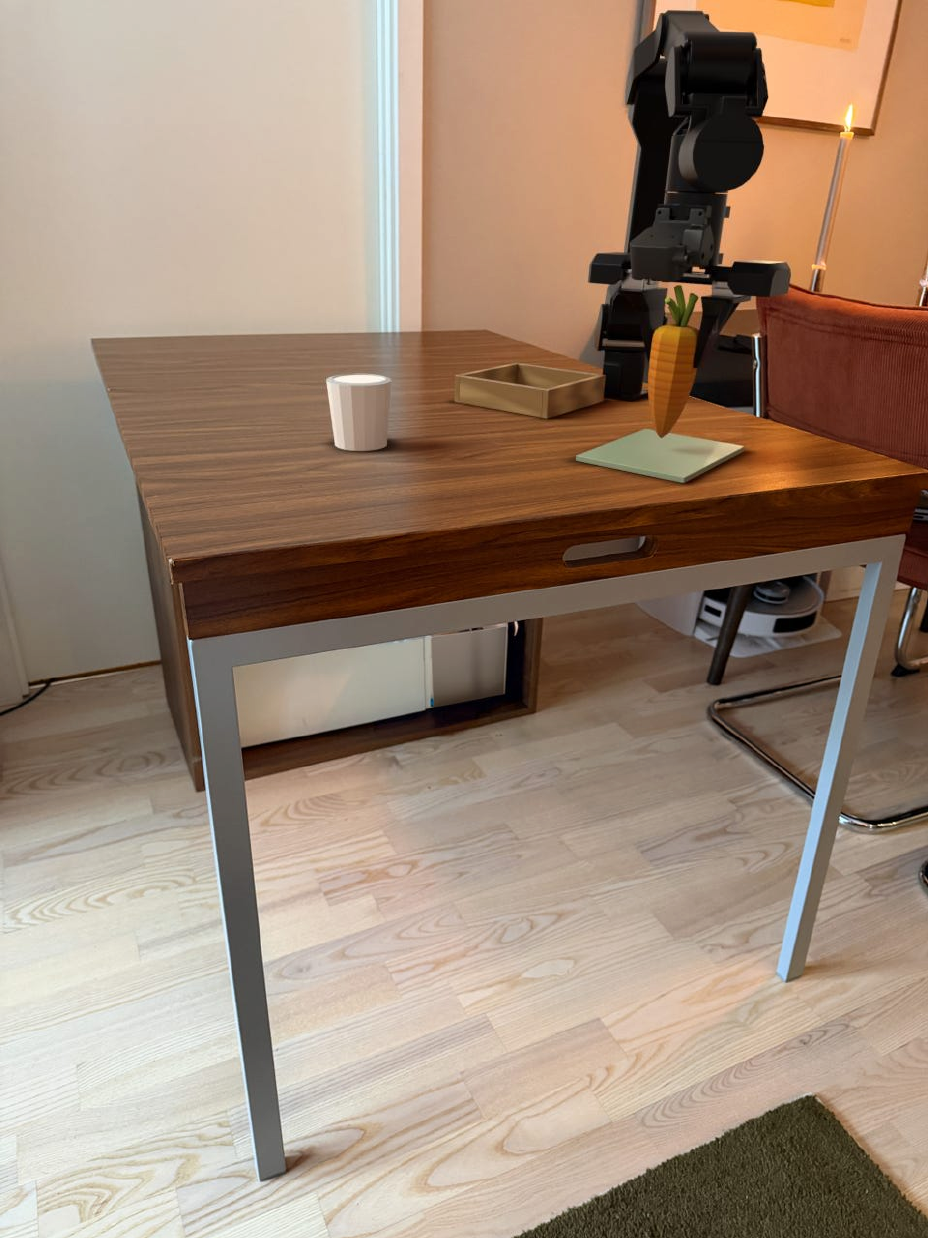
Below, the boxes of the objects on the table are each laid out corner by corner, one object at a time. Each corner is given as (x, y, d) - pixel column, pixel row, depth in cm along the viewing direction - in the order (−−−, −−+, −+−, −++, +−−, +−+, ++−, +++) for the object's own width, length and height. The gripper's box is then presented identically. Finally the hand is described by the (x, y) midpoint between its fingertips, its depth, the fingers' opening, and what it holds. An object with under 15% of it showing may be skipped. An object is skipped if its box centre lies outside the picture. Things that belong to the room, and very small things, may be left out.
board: (644, 433, 98) (645, 428, 98) (743, 451, 92) (744, 446, 91) (575, 460, 87) (576, 455, 86) (683, 483, 80) (684, 477, 80)
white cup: (354, 433, 95) (352, 370, 92) (405, 442, 92) (404, 377, 89) (315, 446, 89) (312, 379, 86) (367, 455, 86) (366, 386, 83)
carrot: (686, 446, 86) (714, 291, 79) (637, 441, 87) (661, 286, 80) (684, 434, 90) (710, 285, 83) (637, 429, 91) (660, 282, 84)
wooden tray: (515, 387, 122) (516, 362, 121) (603, 401, 115) (606, 375, 113) (454, 401, 112) (454, 375, 110) (546, 418, 104) (548, 390, 102)
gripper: (566, 189, 77) (554, 363, 84) (765, 192, 67) (733, 388, 74) (622, 192, 85) (607, 351, 92) (807, 195, 75) (774, 372, 82)
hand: (673, 364), depth 85 cm, fingers closed on carrot, 5 cm apart
